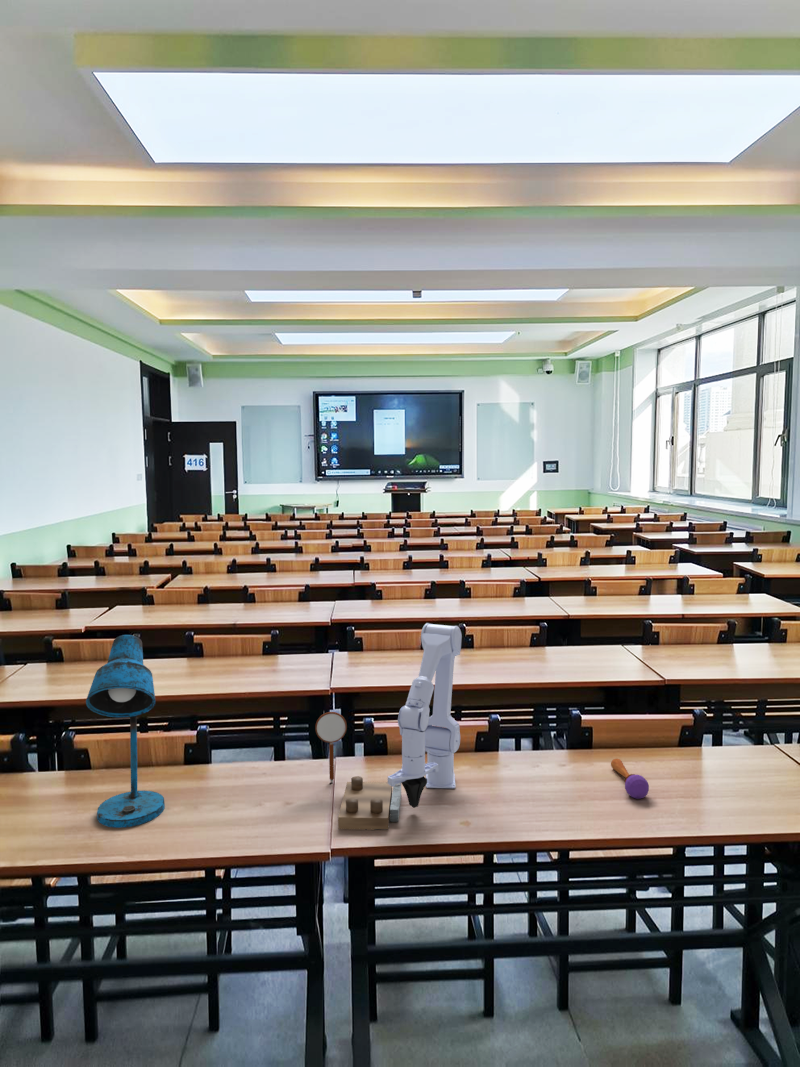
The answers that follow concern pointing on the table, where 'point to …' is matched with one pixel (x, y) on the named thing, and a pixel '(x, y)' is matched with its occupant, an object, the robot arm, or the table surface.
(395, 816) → the hinged leg
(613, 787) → the table surface
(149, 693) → the desk lamp
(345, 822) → the stool seat
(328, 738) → the magnifying glass
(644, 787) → the purple mallet
